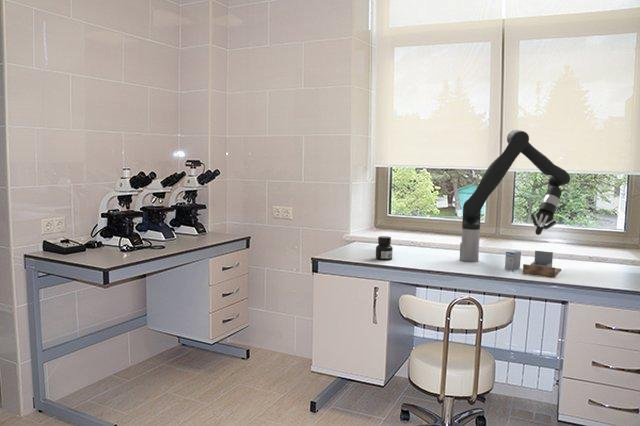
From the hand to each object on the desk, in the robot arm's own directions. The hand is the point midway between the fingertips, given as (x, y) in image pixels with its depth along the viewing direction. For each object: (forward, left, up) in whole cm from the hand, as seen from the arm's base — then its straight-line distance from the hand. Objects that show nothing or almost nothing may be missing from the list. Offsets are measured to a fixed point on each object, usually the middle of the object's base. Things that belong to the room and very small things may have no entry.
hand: (537, 234), depth 267 cm
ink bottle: (-72, -27, -17) cm, 79 cm away
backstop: (+5, -10, -17) cm, 20 cm away
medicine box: (-9, -10, -17) cm, 22 cm away
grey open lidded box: (+5, -14, -17) cm, 23 cm away
